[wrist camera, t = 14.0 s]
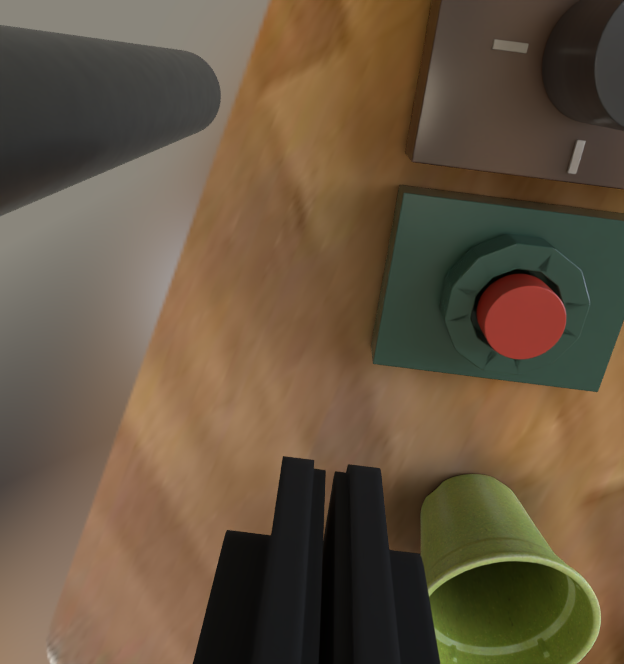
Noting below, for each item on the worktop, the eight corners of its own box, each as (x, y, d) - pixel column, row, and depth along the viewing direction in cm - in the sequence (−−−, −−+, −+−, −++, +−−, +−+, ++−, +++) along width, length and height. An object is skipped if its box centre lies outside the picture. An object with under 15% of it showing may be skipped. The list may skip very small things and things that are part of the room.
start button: (468, 338, 29) (476, 354, 27) (486, 268, 27) (495, 280, 26) (541, 348, 29) (553, 364, 27) (563, 278, 27) (577, 291, 26)
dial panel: (404, 153, 29) (411, 162, 26) (447, -92, 25) (462, -114, 22) (687, 190, 29) (726, 203, 26) (776, -48, 25) (833, -64, 22)
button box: (370, 346, 33) (374, 380, 29) (399, 184, 29) (407, 200, 26) (582, 373, 33) (612, 410, 30) (636, 215, 30) (678, 235, 26)
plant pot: (545, 440, 35) (605, 548, 27) (545, 560, 39) (598, 686, 31) (388, 457, 36) (401, 566, 28) (402, 572, 40) (418, 697, 32)
